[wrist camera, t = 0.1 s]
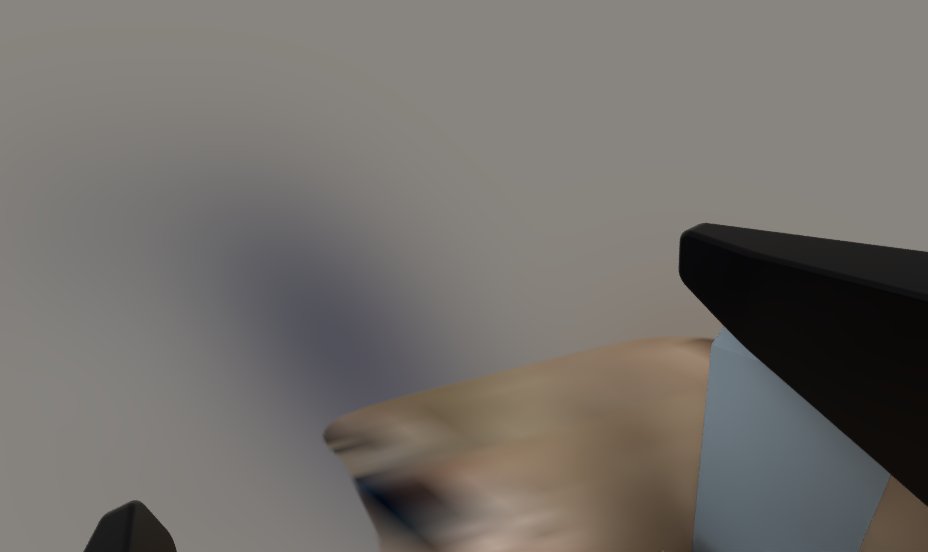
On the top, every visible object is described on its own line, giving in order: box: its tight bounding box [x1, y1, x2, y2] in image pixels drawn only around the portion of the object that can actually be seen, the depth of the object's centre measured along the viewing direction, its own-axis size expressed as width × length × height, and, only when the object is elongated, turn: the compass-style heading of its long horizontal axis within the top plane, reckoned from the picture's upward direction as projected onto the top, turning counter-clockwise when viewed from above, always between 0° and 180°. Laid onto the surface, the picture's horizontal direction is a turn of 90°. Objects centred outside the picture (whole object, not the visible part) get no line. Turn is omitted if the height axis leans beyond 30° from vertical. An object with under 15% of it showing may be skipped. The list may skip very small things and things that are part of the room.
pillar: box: [692, 327, 891, 552], centre depth 19 cm, size 4×4×11 cm
